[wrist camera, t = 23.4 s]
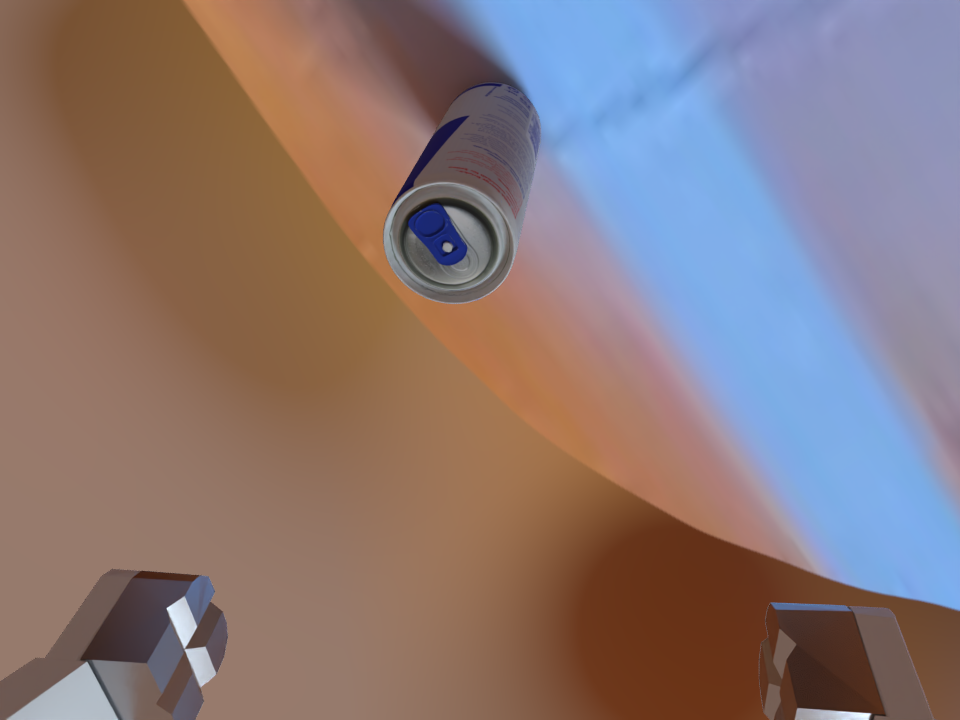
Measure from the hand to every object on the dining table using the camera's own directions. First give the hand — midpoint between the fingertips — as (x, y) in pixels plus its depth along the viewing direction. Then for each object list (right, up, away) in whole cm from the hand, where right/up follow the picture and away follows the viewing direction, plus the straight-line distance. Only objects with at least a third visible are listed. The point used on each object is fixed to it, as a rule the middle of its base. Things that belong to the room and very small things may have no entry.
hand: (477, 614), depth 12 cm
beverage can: (+1, +16, +31) cm, 35 cm away
